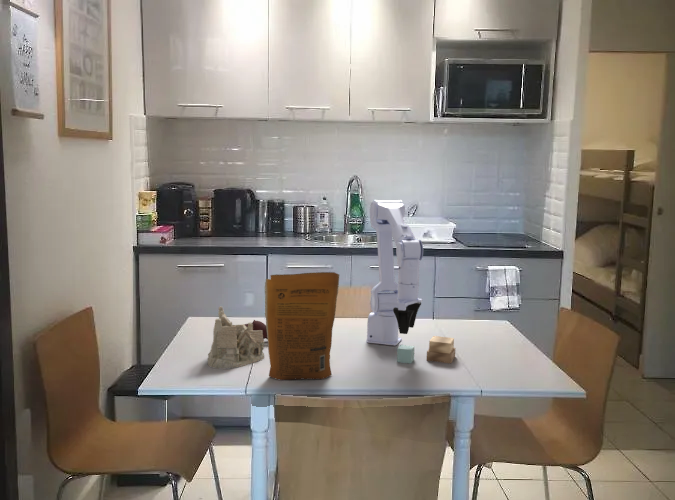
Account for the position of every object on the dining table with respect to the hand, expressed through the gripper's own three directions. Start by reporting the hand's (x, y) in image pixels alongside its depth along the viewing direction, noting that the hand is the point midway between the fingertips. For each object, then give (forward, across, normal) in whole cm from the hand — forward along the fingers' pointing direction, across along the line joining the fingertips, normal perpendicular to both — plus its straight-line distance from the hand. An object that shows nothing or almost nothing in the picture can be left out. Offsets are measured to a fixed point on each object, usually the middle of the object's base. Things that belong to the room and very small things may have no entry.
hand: (406, 330), depth 193 cm
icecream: (+9, +1, +48) cm, 49 cm away
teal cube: (+9, 0, 0) cm, 9 cm away
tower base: (+9, +6, -9) cm, 14 cm away
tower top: (+6, +6, -9) cm, 12 cm away
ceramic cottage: (+9, -17, +45) cm, 49 cm away
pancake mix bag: (+9, -25, +22) cm, 35 cm away
